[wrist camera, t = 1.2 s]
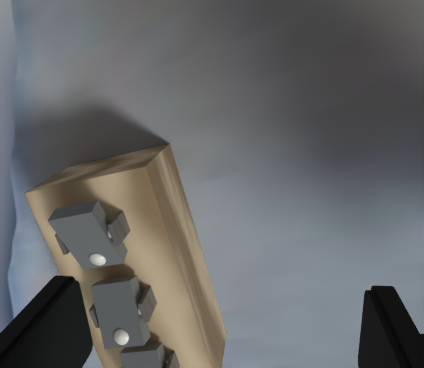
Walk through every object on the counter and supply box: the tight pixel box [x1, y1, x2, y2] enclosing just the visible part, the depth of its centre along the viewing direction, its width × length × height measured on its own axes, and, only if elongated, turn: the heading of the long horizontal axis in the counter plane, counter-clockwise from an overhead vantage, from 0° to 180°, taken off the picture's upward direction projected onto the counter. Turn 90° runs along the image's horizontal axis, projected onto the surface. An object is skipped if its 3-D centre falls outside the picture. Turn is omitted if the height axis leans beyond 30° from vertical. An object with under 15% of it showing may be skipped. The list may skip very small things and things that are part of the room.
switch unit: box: [24, 144, 226, 368], centre depth 37 cm, size 12×25×11 cm, turn 15°
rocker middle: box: [90, 275, 150, 349], centre depth 32 cm, size 4×6×2 cm
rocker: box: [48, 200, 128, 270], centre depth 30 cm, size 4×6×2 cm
